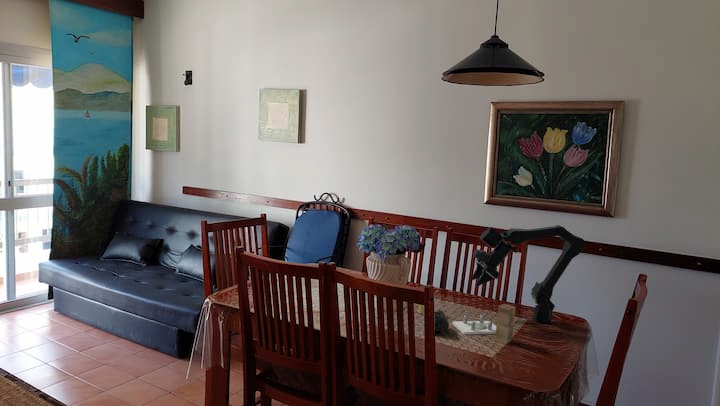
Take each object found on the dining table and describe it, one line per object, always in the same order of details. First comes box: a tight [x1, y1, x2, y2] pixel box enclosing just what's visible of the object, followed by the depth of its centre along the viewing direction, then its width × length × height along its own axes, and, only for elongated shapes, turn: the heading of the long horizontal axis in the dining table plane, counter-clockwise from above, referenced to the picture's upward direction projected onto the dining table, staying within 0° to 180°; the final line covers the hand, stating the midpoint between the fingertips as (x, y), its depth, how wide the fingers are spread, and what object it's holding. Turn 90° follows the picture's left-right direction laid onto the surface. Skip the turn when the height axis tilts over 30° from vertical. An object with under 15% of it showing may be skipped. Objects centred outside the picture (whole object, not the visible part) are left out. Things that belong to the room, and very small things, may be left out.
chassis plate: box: [452, 314, 497, 335], centre depth 197 cm, size 16×11×4 cm
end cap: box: [433, 309, 450, 336], centre depth 192 cm, size 10×7×7 cm
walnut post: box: [494, 303, 516, 345], centre depth 186 cm, size 4×4×13 cm
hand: (474, 282), depth 210 cm, fingers open, 9 cm apart
